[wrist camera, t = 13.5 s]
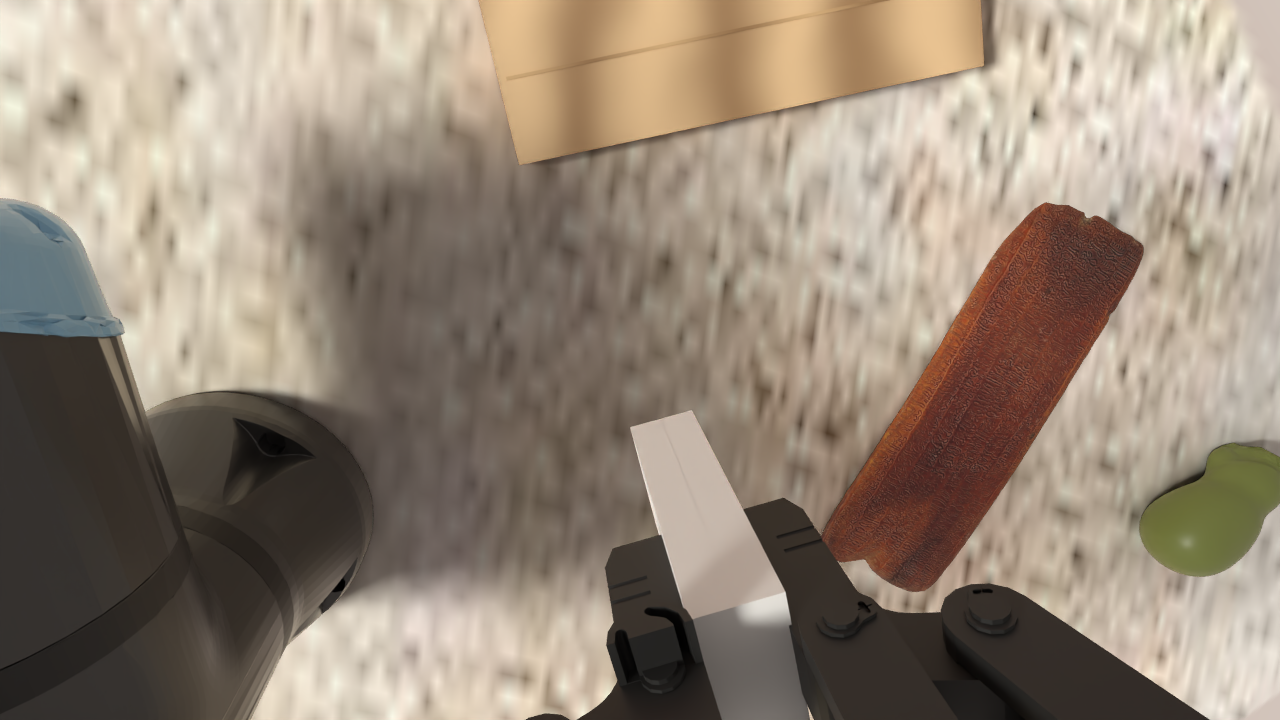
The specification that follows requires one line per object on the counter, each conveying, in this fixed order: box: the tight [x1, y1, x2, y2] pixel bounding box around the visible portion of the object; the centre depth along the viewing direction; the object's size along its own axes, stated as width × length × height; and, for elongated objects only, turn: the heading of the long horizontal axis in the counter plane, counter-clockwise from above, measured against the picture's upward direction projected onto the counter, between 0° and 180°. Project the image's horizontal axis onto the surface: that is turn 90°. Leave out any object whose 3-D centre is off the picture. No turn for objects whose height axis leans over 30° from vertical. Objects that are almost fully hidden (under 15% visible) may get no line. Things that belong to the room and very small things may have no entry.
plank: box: [479, 0, 984, 165], centre depth 35 cm, size 24×8×1 cm, turn 101°
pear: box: [1139, 443, 1280, 577], centre depth 47 cm, size 6×5×10 cm
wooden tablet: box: [821, 202, 1143, 592], centre depth 45 cm, size 27×10×2 cm, turn 154°
